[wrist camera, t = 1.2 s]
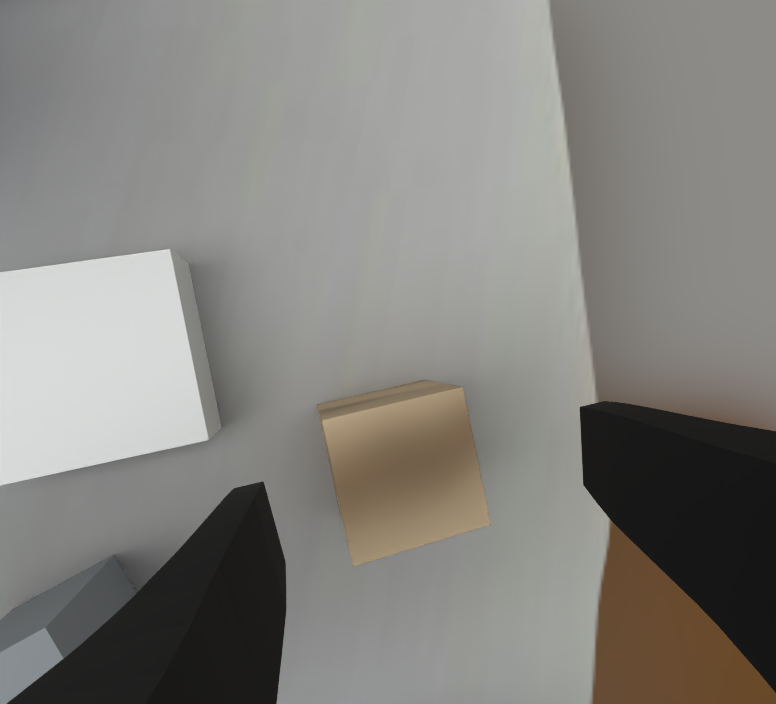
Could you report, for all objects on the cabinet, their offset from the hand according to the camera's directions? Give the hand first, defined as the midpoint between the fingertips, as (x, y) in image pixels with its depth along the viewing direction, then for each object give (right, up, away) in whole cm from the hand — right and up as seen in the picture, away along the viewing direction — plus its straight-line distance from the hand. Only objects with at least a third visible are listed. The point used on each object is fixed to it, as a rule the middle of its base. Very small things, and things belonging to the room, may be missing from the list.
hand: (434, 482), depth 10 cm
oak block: (-1, -1, +10) cm, 11 cm away
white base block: (-12, +2, +9) cm, 15 cm away
